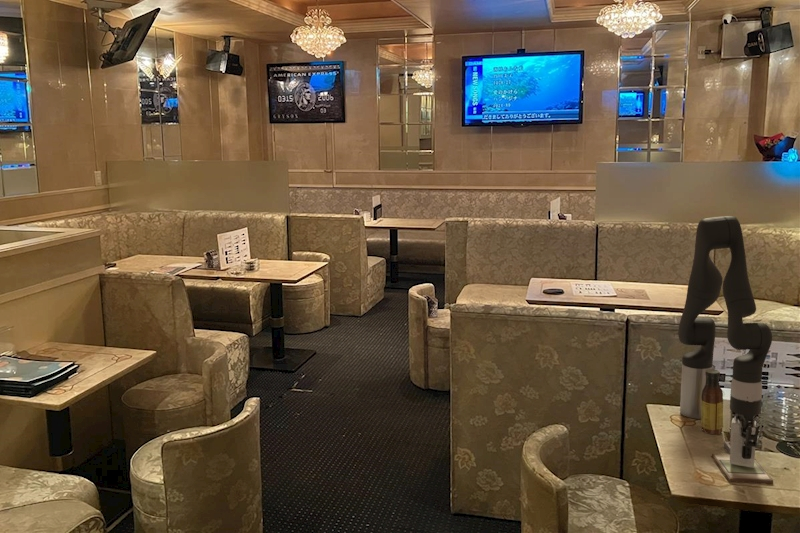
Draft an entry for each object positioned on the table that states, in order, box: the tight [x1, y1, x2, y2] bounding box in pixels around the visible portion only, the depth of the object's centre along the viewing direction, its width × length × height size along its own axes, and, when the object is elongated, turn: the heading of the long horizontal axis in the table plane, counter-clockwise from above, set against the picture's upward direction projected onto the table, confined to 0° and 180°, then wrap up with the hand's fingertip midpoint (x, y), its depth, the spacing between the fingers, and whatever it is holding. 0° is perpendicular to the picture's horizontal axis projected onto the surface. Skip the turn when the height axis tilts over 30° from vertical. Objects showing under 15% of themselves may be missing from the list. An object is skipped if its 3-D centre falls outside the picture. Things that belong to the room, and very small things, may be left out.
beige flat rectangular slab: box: [710, 453, 774, 485], centre depth 184 cm, size 15×11×1 cm
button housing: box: [723, 441, 730, 454], centre depth 194 cm, size 6×6×2 cm
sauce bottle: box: [700, 368, 724, 435], centre depth 208 cm, size 6×6×20 cm
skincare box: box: [730, 418, 757, 468], centre depth 183 cm, size 6×4×12 cm
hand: (742, 453), depth 183 cm, fingers closed on skincare box, 5 cm apart
